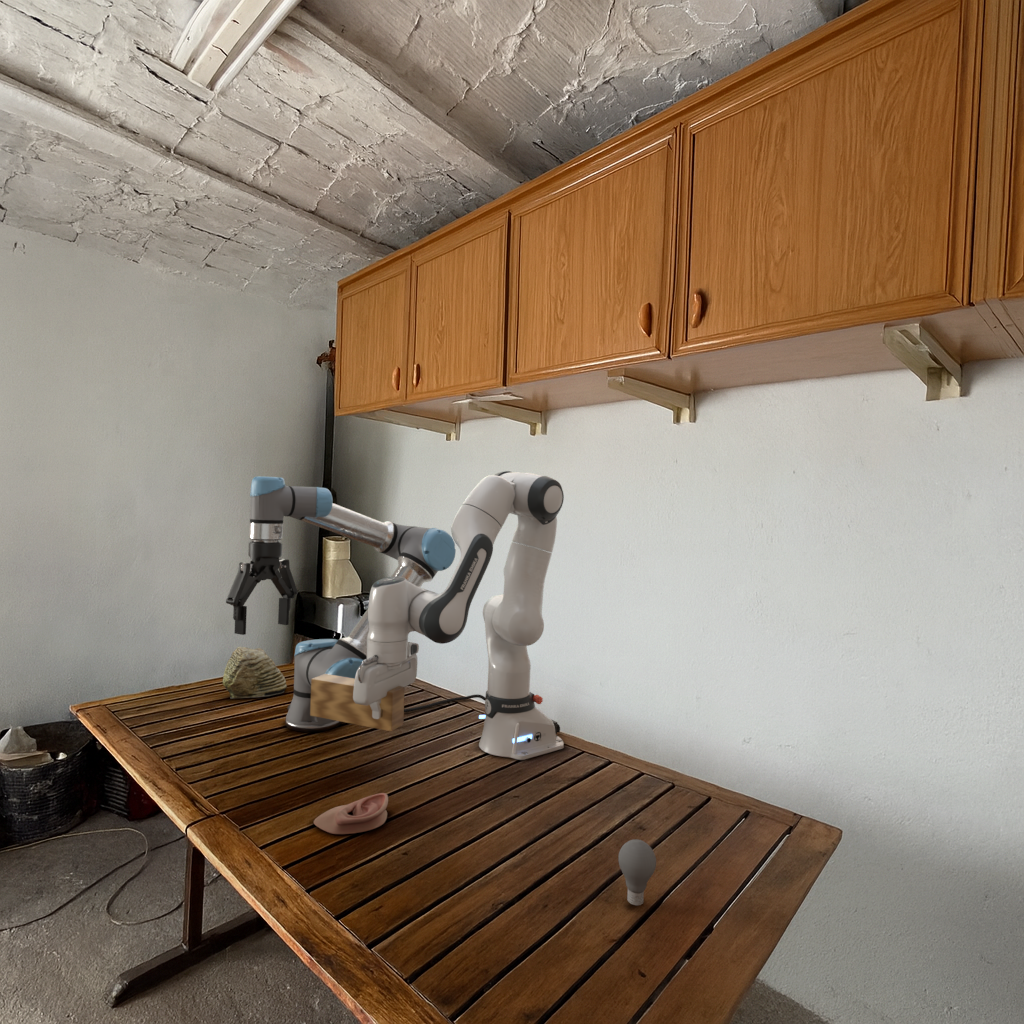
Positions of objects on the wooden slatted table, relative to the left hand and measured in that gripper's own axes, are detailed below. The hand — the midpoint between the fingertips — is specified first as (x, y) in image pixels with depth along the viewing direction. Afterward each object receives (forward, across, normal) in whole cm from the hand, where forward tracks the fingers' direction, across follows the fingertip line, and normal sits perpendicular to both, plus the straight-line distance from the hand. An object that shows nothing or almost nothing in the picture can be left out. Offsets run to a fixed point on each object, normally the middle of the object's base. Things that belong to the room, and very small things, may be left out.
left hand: (262, 629), depth 152 cm
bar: (+17, +1, -28) cm, 33 cm away
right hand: (+15, +1, -35) cm, 38 cm away
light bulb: (+31, -14, -95) cm, 101 cm away
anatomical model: (+31, -14, -39) cm, 52 cm away
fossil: (+31, +34, +36) cm, 58 cm away
